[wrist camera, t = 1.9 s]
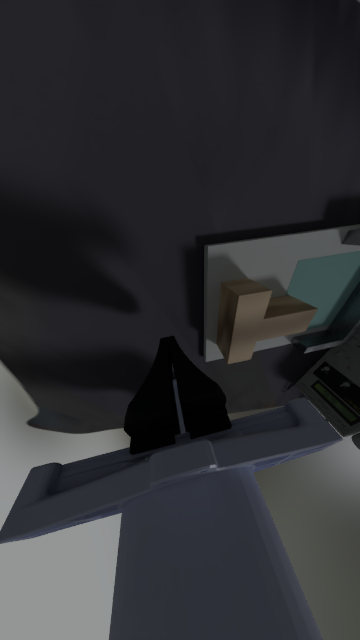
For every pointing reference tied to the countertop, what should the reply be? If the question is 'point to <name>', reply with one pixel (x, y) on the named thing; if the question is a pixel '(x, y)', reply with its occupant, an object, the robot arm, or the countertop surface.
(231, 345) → the t block
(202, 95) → the countertop surface
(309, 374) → the geiger counter
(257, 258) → the mat
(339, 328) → the bracket
